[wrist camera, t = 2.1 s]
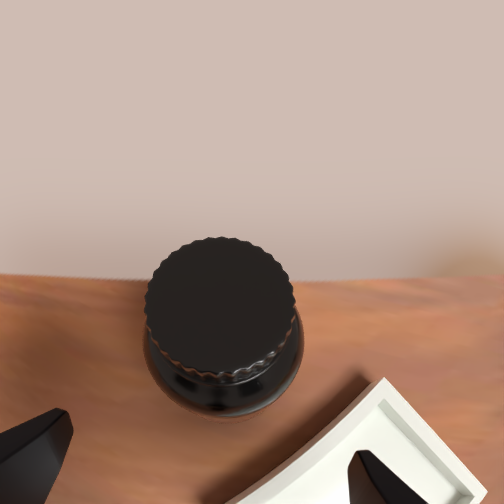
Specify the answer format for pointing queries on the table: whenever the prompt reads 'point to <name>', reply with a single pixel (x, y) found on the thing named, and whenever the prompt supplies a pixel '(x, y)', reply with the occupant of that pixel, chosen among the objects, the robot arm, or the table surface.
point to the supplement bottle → (222, 329)
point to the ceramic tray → (381, 445)
